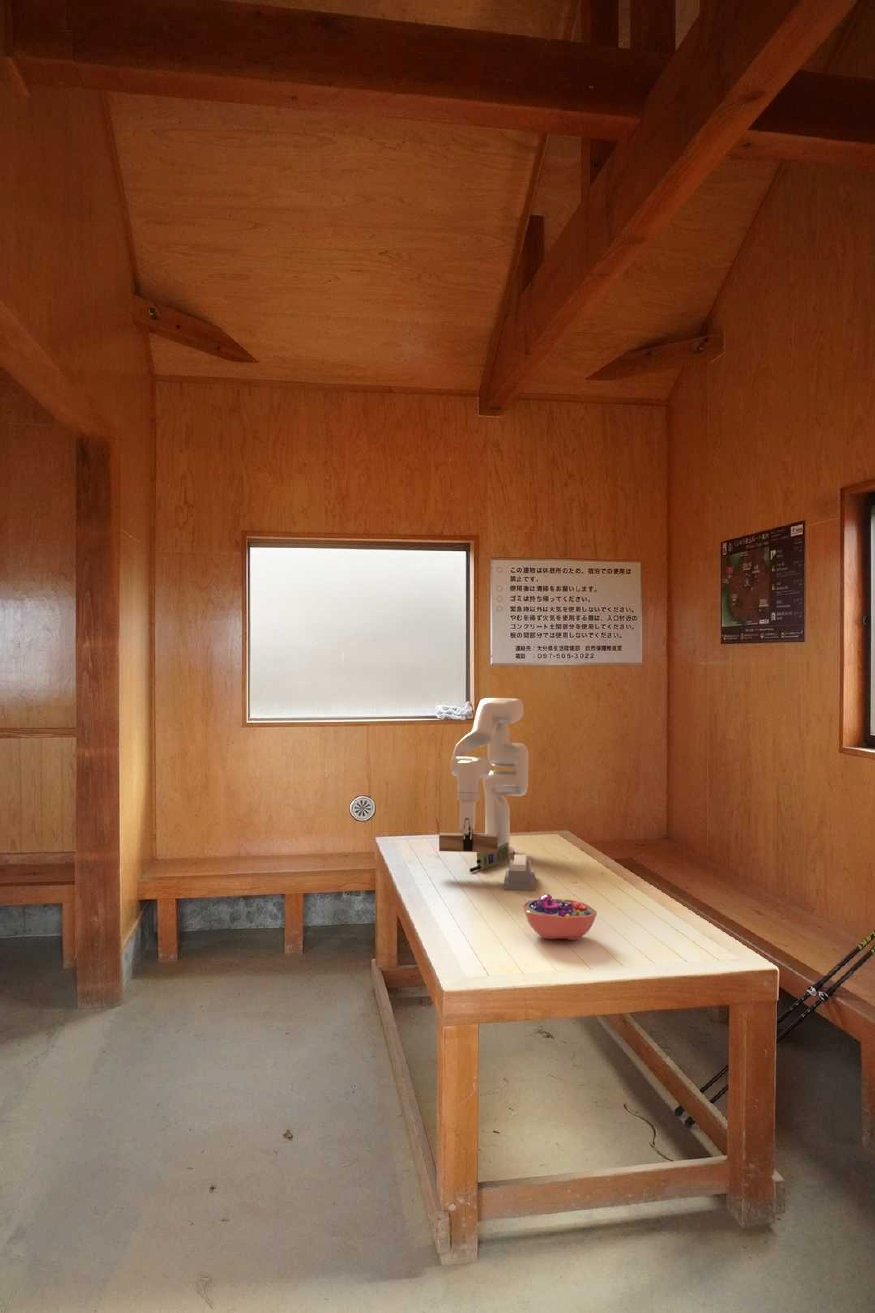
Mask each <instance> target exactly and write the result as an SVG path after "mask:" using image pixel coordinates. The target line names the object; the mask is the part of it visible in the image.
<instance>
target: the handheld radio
mask: <svg viewBox="0 0 875 1313" xmlns="http://www.w3.org/2000/svg"><path fill="white" fill-rule="evenodd" d="M475 853H476V866H473V867H471V868H469V872H470V873H473V872H476V871H485V870H487V869H489V868H491V867H494V866H497V865H500V864H502V863H505V862H506V861H510V859H509V858H510V856H509V855H510V854H509V847H508V842H503V843H500V844H498V852H497V853H491V852H475Z"/></svg>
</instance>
